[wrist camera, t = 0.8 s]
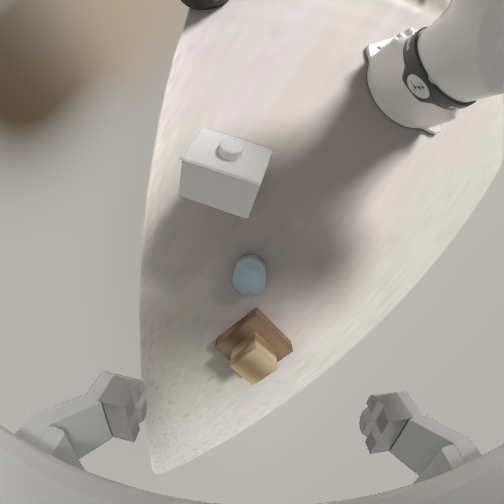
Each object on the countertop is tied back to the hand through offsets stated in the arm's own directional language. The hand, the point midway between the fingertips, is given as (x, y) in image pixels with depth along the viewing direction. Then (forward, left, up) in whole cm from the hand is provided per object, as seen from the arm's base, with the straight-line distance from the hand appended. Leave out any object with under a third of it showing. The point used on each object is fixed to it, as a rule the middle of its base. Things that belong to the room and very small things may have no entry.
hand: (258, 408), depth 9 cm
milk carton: (-3, -8, -35) cm, 36 cm away
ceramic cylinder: (+5, +4, -35) cm, 36 cm away
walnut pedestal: (+13, +14, -35) cm, 40 cm away
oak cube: (+13, +14, -32) cm, 37 cm away
